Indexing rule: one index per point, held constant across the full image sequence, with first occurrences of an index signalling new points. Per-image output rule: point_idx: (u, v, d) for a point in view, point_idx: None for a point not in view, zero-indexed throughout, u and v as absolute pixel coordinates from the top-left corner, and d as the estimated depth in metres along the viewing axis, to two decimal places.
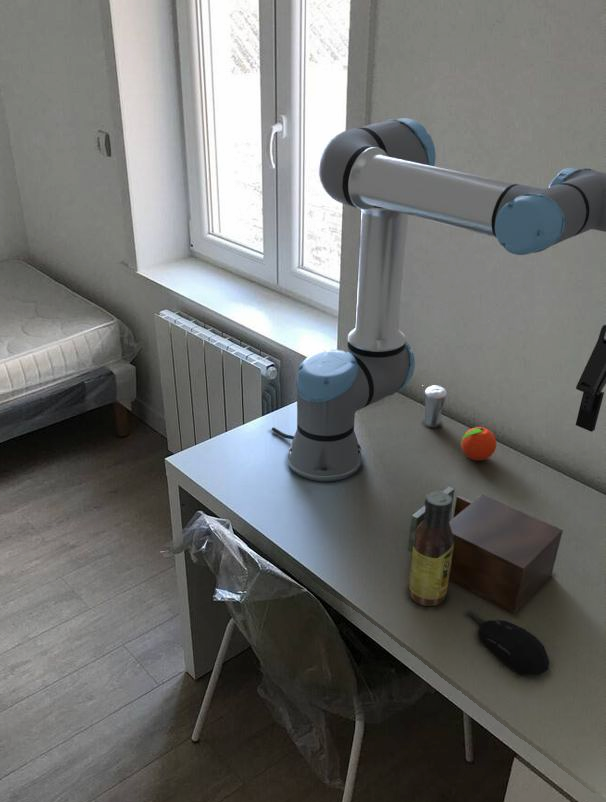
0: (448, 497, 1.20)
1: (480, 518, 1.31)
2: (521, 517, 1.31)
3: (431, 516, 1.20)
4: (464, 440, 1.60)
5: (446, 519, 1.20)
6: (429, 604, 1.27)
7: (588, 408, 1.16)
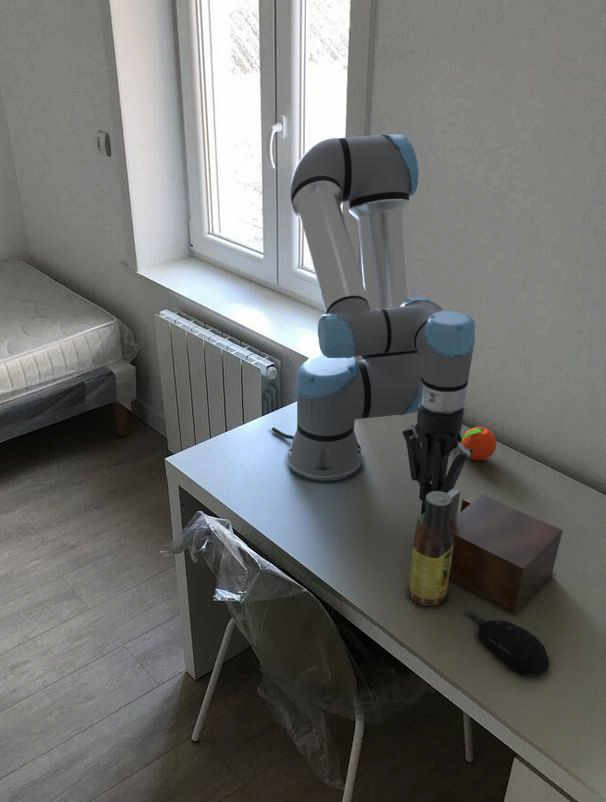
0: (448, 497, 1.20)
1: (480, 518, 1.31)
2: (521, 517, 1.31)
3: (431, 516, 1.20)
4: (464, 440, 1.60)
5: (446, 519, 1.20)
6: (429, 604, 1.27)
7: (419, 495, 1.42)
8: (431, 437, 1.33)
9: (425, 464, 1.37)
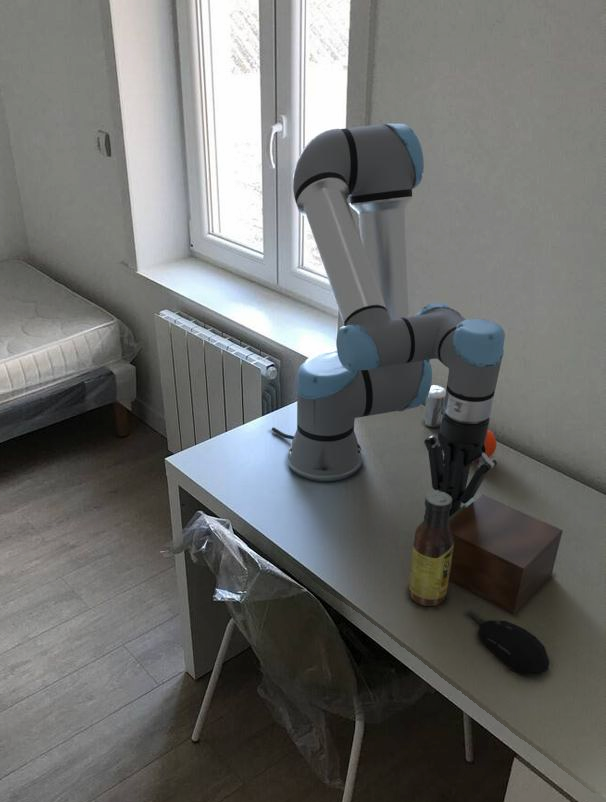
0: (448, 497, 1.20)
1: (480, 518, 1.31)
2: (521, 517, 1.31)
3: (431, 516, 1.20)
4: None
5: (446, 519, 1.20)
6: (429, 604, 1.27)
7: None
8: (454, 447, 1.31)
9: (447, 474, 1.34)
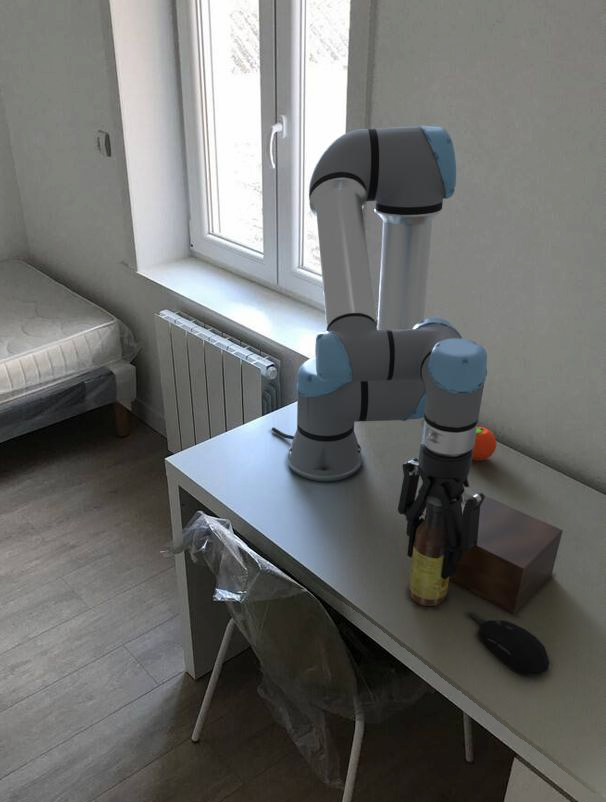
0: None
1: (480, 518, 1.31)
2: (521, 517, 1.31)
3: (432, 516, 1.20)
4: None
5: None
6: (429, 604, 1.27)
7: (407, 530, 1.27)
8: (435, 480, 1.17)
9: (419, 503, 1.21)
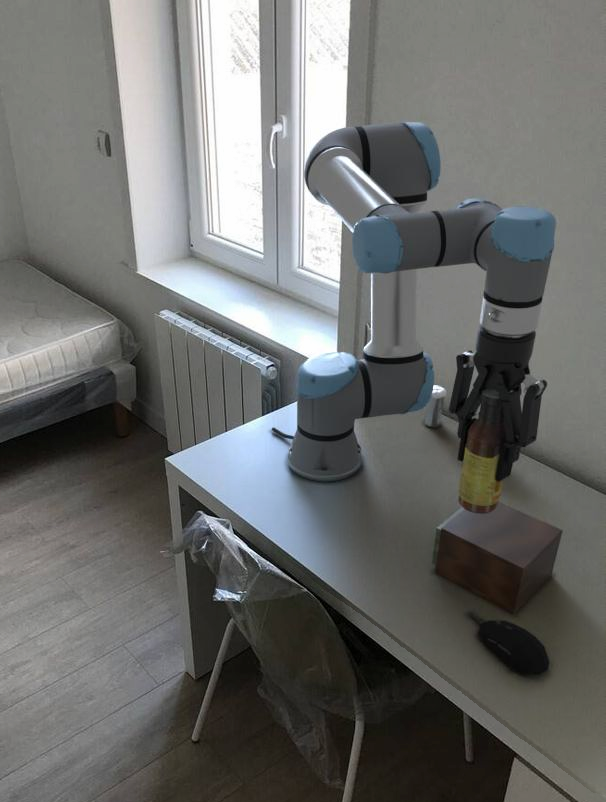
0: None
1: (480, 518, 1.31)
2: (521, 517, 1.31)
3: (488, 411, 1.12)
4: None
5: (503, 415, 1.12)
6: (480, 511, 1.20)
7: (458, 432, 1.19)
8: (492, 369, 1.09)
9: (473, 398, 1.14)
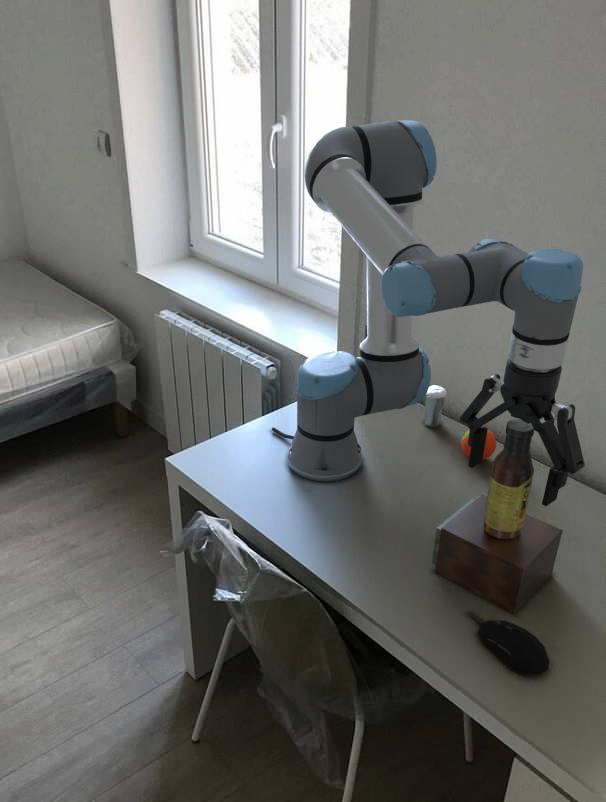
0: (530, 424, 1.18)
1: (480, 518, 1.31)
2: None
3: (513, 443, 1.18)
4: (464, 440, 1.60)
5: (527, 447, 1.18)
6: (506, 537, 1.25)
7: (468, 440, 1.26)
8: (519, 401, 1.14)
9: (490, 417, 1.20)
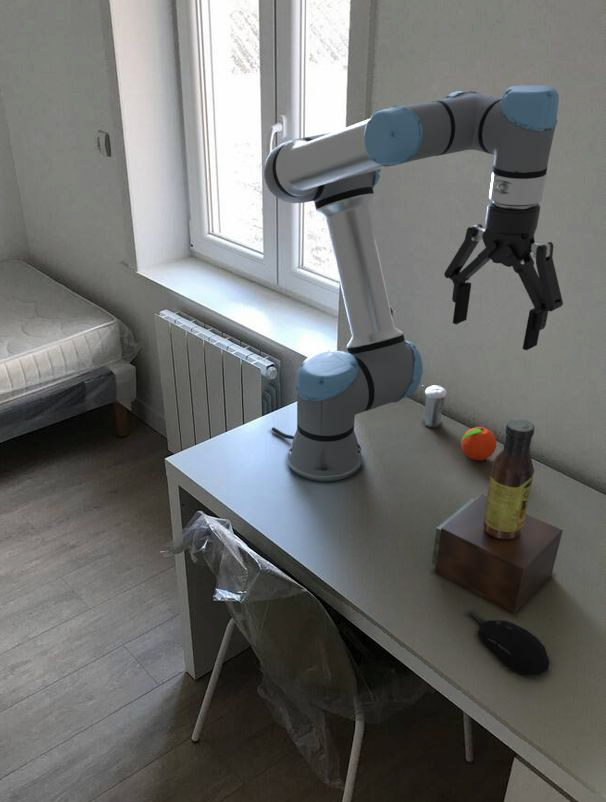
0: (530, 424, 1.18)
1: (480, 518, 1.31)
2: None
3: (513, 443, 1.18)
4: (464, 440, 1.60)
5: (527, 447, 1.18)
6: (506, 537, 1.25)
7: (453, 296, 1.30)
8: (500, 244, 1.19)
9: (473, 267, 1.24)
